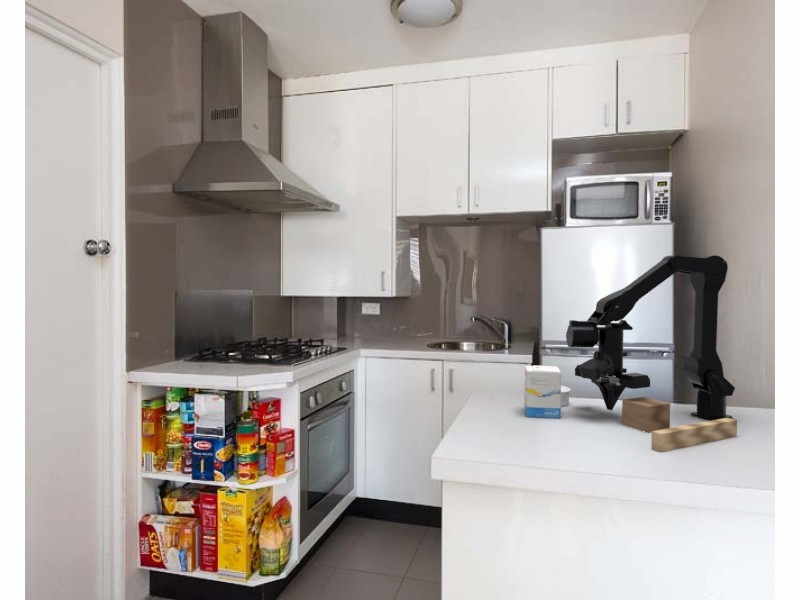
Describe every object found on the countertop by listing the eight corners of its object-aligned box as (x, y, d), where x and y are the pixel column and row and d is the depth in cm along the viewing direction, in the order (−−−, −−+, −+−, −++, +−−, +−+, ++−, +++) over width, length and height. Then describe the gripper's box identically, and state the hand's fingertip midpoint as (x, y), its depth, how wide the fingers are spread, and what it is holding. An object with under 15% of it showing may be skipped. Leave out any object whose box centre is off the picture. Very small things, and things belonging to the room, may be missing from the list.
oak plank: (727, 433, 107) (727, 417, 107) (736, 436, 105) (737, 420, 105) (651, 448, 97) (651, 431, 97) (660, 451, 95) (660, 434, 95)
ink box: (561, 419, 118) (561, 371, 118) (525, 417, 120) (526, 370, 120) (557, 410, 127) (557, 365, 126) (523, 408, 128) (524, 364, 128)
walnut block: (643, 421, 116) (643, 396, 116) (669, 429, 110) (670, 403, 110) (621, 425, 114) (622, 399, 113) (648, 433, 107) (648, 406, 107)
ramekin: (571, 408, 128) (571, 392, 128) (536, 406, 131) (536, 390, 131) (569, 400, 137) (569, 385, 137) (536, 398, 139) (536, 383, 139)
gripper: (558, 345, 126) (558, 404, 126) (617, 354, 109) (616, 423, 109) (591, 342, 130) (590, 400, 131) (652, 351, 113) (651, 417, 114)
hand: (609, 409), depth 121 cm, fingers closed
